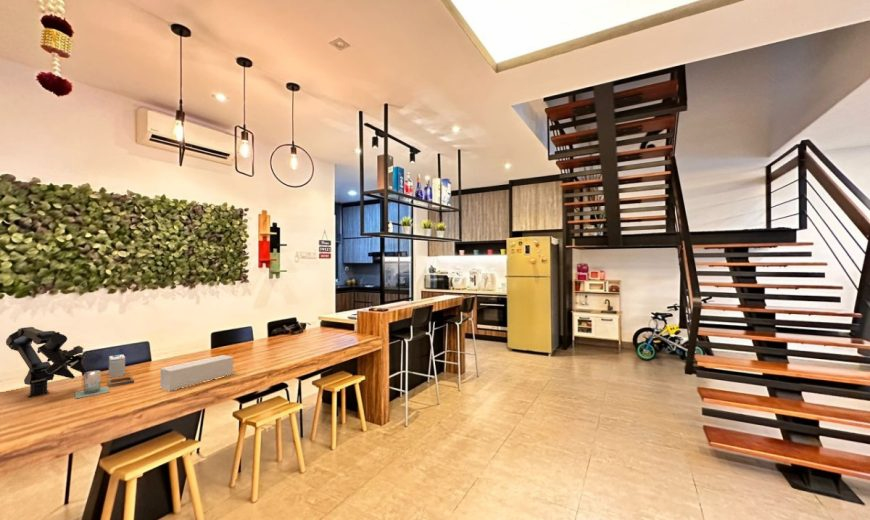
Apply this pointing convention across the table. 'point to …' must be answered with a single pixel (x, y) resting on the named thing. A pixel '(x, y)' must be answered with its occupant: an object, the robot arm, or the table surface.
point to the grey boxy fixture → (116, 366)
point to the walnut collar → (120, 382)
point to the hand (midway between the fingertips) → (79, 375)
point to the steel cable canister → (92, 382)
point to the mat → (102, 390)
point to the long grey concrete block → (195, 372)
